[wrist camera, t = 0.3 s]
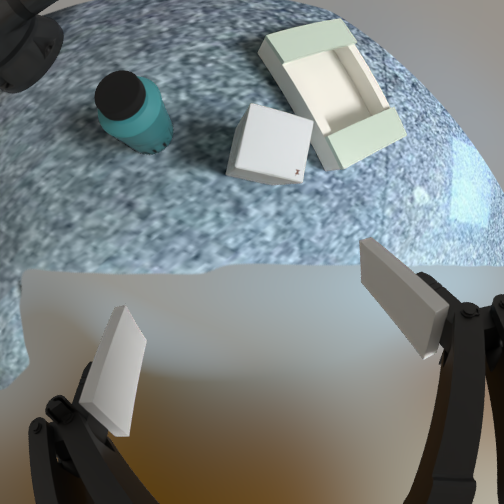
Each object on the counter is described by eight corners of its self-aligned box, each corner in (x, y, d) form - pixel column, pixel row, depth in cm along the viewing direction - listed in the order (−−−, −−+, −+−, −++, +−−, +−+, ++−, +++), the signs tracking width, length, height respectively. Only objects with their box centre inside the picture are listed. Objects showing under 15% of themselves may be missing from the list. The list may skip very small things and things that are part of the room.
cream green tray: (257, 53, 35) (266, 35, 29) (325, 33, 36) (340, 18, 30) (325, 171, 41) (343, 169, 36) (385, 139, 42) (407, 135, 36)
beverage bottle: (151, 106, 34) (116, 42, 15) (185, 131, 36) (174, 78, 17) (122, 141, 35) (62, 103, 16) (156, 167, 37) (116, 145, 17)
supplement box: (283, 139, 39) (317, 120, 27) (272, 186, 40) (303, 185, 28) (234, 126, 37) (250, 100, 25) (223, 175, 39) (234, 168, 27)
